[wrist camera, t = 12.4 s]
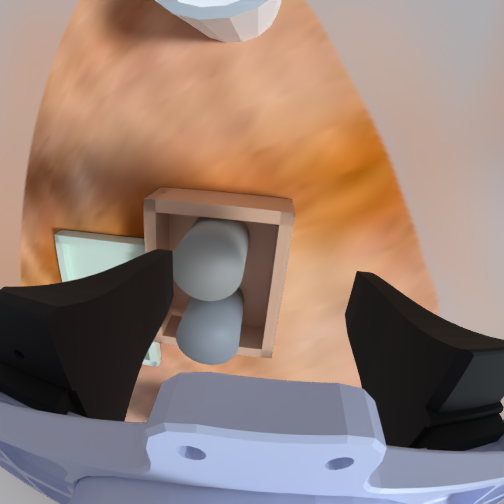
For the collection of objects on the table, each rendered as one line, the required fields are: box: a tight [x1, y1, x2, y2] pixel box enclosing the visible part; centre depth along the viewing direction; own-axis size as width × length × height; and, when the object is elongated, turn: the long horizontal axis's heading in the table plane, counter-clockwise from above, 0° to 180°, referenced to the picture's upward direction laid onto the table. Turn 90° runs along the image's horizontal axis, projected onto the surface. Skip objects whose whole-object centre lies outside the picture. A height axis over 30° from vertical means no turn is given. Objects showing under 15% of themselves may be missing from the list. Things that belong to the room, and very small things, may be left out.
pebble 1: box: [173, 216, 250, 301], centre depth 19 cm, size 4×4×5 cm
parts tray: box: [54, 230, 162, 367], centre depth 24 cm, size 12×9×1 cm
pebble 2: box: [176, 287, 244, 365], centre depth 21 cm, size 4×4×5 cm
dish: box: [143, 187, 295, 358], centre depth 21 cm, size 11×9×3 cm
